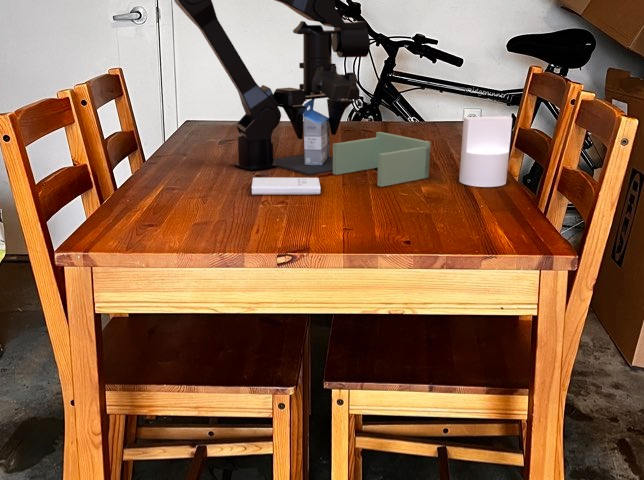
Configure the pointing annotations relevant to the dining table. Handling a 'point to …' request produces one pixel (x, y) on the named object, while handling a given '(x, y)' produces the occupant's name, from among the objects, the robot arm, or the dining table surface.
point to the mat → (303, 165)
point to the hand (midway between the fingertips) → (317, 136)
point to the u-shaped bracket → (384, 158)
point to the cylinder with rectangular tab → (485, 151)
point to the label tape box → (315, 136)
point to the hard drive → (285, 186)
